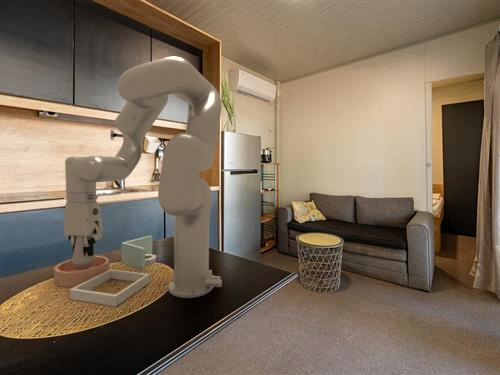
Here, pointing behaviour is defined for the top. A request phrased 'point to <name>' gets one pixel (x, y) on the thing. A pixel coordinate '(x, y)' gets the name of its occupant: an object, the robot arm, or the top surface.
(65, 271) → the bowl
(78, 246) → the salt shaker
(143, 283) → the rectangular frame
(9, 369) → the top surface
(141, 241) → the right angle wall
